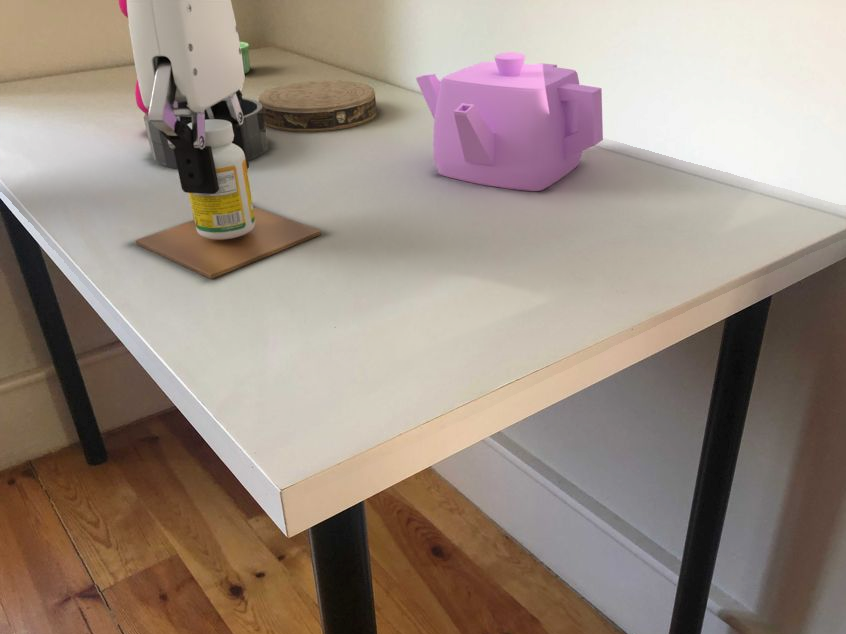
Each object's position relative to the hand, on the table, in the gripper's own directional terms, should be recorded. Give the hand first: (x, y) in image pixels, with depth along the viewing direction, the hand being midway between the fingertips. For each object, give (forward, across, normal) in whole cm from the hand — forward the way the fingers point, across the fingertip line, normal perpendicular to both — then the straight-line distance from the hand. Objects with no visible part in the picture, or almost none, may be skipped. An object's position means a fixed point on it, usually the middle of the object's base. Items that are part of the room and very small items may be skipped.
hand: (216, 178), depth 71 cm
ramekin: (+6, -68, -32) cm, 76 cm away
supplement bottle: (+5, 0, 0) cm, 5 cm away
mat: (+6, 0, 0) cm, 6 cm away
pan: (+6, -26, -14) cm, 30 cm away
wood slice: (+6, -43, -6) cm, 44 cm away
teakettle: (+6, -23, +22) cm, 33 cm away
